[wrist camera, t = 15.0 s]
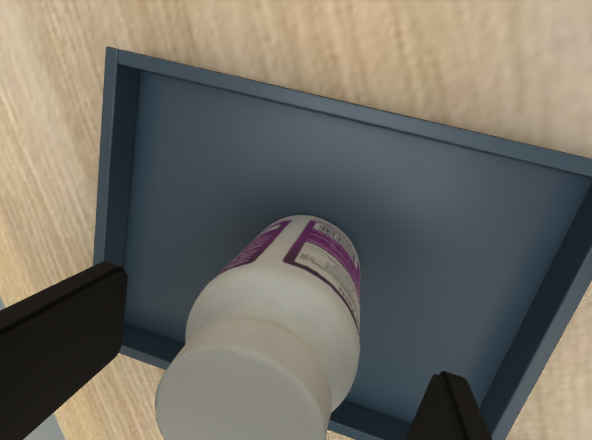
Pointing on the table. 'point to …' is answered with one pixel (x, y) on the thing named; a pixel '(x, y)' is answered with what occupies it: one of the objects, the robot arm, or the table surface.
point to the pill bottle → (269, 340)
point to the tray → (345, 229)
